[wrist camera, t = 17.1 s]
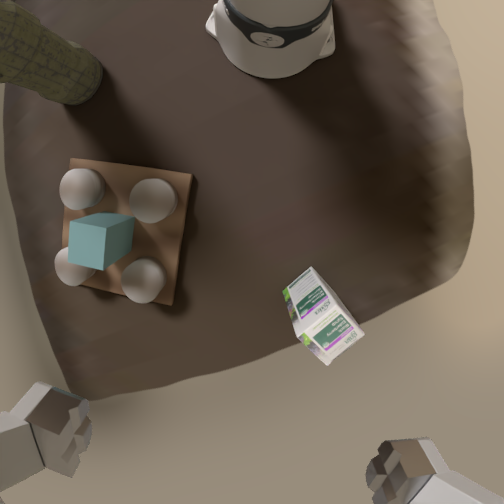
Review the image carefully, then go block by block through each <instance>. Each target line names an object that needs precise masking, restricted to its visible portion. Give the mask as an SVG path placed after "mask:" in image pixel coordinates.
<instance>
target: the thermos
mask: <svg viewBox="0 0 504 504" xmlns="http://www.w3.org/2000/svg"><path fill="white" fill-rule="evenodd" d="M102 77H103V68H102V66H101V63H100V61H99V60H98V59H97V58H96V57H94V56H93V55H92V54H91V53H90V52H89V51H88V50H86V49H85V48H83V47H82V46H81V45H79V44H78V43H75V42H72V41H66V40H65V39H63V38H62V37H60V36H59V35H57V34H55V33H54V32H52V31H51V30H49V29H48V28H46V27H45V26H43V25H41V23H40V20H39V19H38V18H37V17H36V16H35V15H34V14H32V13H31V12H29V11H27V10H26V9H24V8H23V7H21V6H20V5H18V4H16V3H15V0H0V83H6V82H8V83H11V84H15V85H18V86H21V87H24V88H27V89H30V90H34V91H37V92H38V93H39V95H40V96H41V97H44V98H46V99H48V100H51V101H55V102H58V103H65V104H67V105H79V104H82V103H84V102H86V101H87V100H89V99H90V98H91V97H92V96H93V95H94V94H95V93H96V91H97V89H98V88H99V86H100V84H101V80H102Z"/></svg>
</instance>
